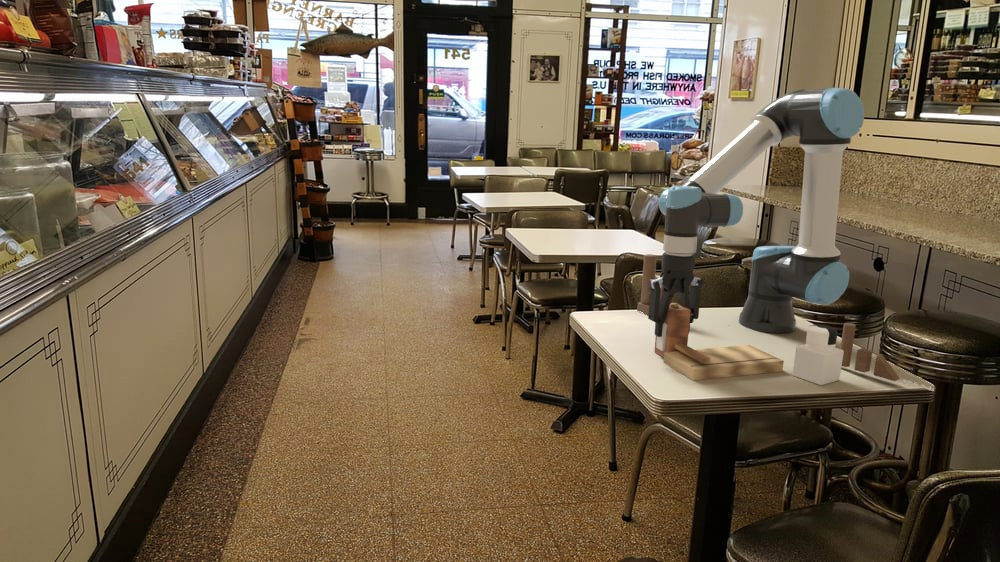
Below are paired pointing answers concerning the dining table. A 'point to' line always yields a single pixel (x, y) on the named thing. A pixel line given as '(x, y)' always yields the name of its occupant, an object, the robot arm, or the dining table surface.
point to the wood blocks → (867, 358)
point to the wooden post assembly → (648, 274)
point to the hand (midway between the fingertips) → (670, 348)
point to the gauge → (679, 333)
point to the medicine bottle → (819, 356)
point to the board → (724, 362)
